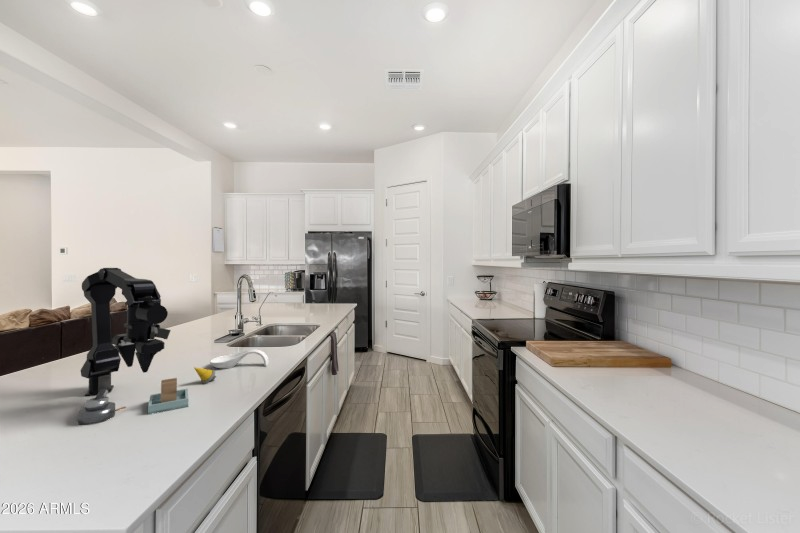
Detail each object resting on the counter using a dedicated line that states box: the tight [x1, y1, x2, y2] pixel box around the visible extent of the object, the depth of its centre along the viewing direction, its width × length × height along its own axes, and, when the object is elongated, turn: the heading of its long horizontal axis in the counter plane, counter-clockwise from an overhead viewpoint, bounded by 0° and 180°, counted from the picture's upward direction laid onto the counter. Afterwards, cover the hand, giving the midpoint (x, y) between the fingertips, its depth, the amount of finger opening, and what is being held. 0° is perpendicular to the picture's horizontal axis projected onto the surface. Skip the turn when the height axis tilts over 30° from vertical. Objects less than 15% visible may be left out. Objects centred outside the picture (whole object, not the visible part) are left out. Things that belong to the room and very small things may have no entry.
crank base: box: [76, 401, 126, 426], centre depth 94 cm, size 9×10×3 cm
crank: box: [84, 374, 112, 411], centre depth 98 cm, size 16×5×5 cm, turn 35°
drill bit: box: [193, 366, 217, 385], centre depth 121 cm, size 5×5×10 cm
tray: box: [147, 388, 189, 415], centre depth 103 cm, size 10×10×2 cm
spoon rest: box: [209, 348, 270, 370], centre depth 142 cm, size 24×12×7 cm, turn 100°
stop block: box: [160, 377, 178, 403], centre depth 103 cm, size 4×4×7 cm
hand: (137, 369), depth 102 cm, fingers open, 9 cm apart
